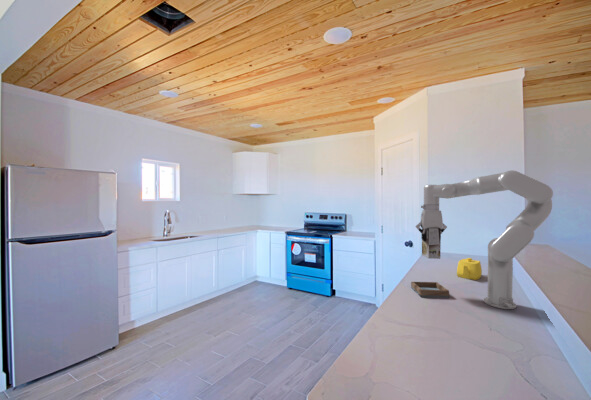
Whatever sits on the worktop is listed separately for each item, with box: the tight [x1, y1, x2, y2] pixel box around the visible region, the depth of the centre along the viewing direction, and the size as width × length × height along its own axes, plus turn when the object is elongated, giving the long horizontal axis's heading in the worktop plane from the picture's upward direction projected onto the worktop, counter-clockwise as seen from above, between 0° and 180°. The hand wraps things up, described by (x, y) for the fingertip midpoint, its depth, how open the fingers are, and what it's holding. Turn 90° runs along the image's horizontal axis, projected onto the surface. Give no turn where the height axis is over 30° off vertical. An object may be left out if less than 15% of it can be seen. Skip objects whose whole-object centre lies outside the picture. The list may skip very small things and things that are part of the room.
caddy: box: [410, 281, 450, 299], centre depth 148 cm, size 14×14×4 cm
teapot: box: [456, 257, 483, 281], centre depth 176 cm, size 20×12×12 cm, turn 134°
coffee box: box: [421, 228, 442, 260], centre depth 148 cm, size 9×6×16 cm
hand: (431, 240), depth 148 cm, fingers closed on coffee box, 6 cm apart
